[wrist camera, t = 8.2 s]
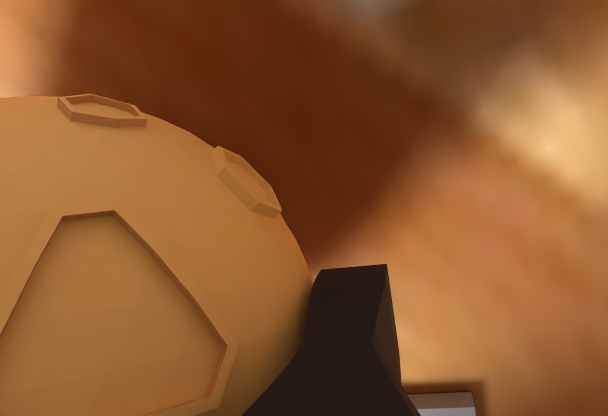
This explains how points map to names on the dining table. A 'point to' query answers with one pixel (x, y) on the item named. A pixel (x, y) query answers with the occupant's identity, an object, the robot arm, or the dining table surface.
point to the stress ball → (137, 267)
